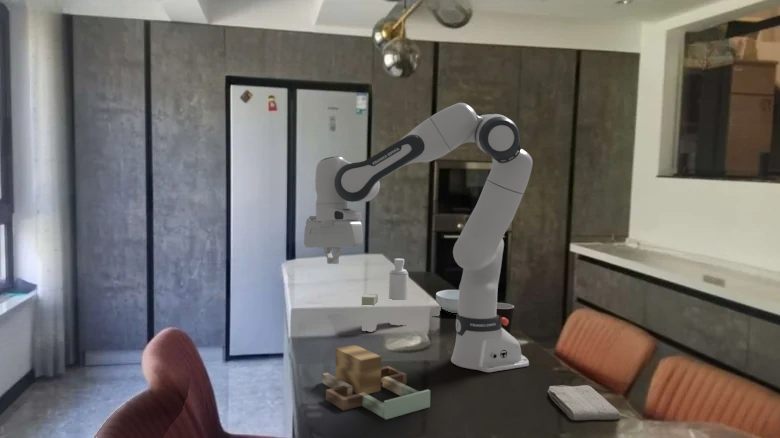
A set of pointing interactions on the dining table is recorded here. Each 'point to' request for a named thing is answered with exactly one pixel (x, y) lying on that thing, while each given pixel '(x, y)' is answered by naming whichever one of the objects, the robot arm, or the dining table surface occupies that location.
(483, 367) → the robot arm
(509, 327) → the coffee mug
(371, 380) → the block
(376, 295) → the skincare box
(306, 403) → the dining table surface
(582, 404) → the washcloth
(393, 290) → the white bottle
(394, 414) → the end wall
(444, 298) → the cereal bowl
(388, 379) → the lane
